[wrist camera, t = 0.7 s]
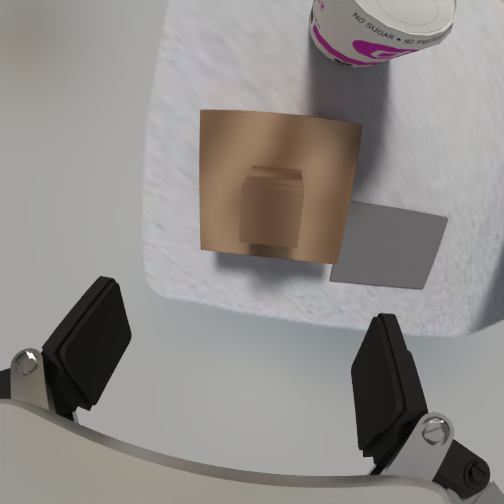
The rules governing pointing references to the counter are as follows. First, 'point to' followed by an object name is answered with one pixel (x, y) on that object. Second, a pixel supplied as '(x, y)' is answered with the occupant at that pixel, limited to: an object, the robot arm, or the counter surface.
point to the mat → (388, 246)
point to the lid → (275, 183)
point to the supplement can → (378, 28)
